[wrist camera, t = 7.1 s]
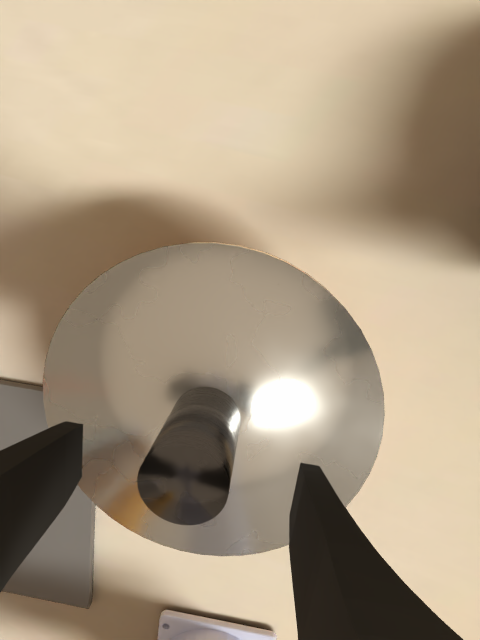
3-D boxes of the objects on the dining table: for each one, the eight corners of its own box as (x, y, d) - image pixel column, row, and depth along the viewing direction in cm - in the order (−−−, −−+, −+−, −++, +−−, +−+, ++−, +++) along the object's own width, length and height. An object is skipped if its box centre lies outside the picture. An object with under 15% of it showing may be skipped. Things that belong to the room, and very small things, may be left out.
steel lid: (329, 570, 17) (350, 699, 12) (47, 503, 17) (-35, 603, 13) (425, 282, 13) (507, 312, 9) (63, 209, 14) (-44, 201, 9)
